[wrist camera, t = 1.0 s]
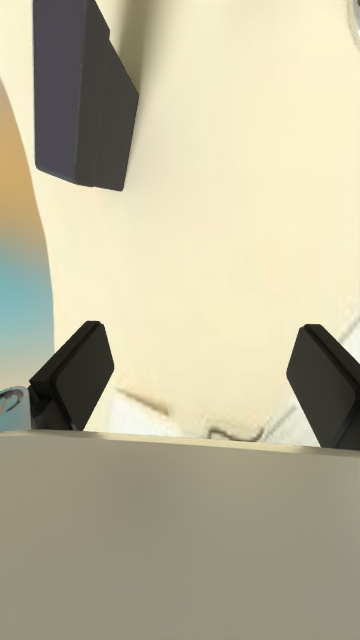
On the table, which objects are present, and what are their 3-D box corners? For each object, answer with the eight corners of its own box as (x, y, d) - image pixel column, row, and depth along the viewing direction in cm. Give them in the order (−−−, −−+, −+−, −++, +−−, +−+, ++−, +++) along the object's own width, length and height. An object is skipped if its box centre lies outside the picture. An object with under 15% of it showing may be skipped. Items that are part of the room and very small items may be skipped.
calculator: (110, 82, 25) (17, -51, 12) (143, 96, 26) (88, -16, 13) (98, 182, 31) (25, 165, 18) (126, 193, 31) (74, 184, 18)
